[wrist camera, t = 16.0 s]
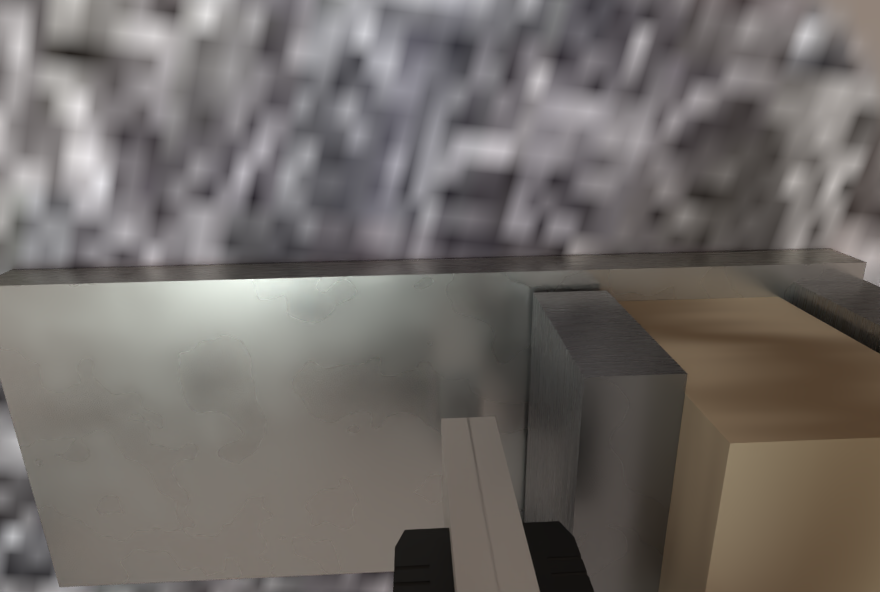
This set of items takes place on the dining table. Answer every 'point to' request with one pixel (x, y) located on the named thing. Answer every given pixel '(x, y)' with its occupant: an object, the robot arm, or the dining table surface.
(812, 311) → the fixed jaw
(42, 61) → the dining table surface
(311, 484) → the vise bed
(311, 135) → the dining table surface
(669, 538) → the block
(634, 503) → the sliding jaw
